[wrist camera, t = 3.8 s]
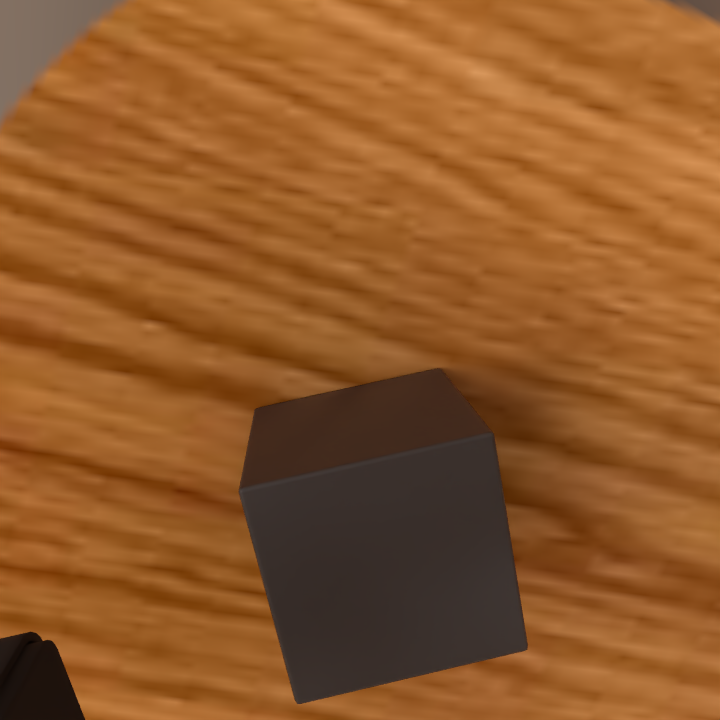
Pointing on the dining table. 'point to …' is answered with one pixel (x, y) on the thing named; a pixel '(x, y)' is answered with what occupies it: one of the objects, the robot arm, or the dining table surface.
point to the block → (381, 534)
